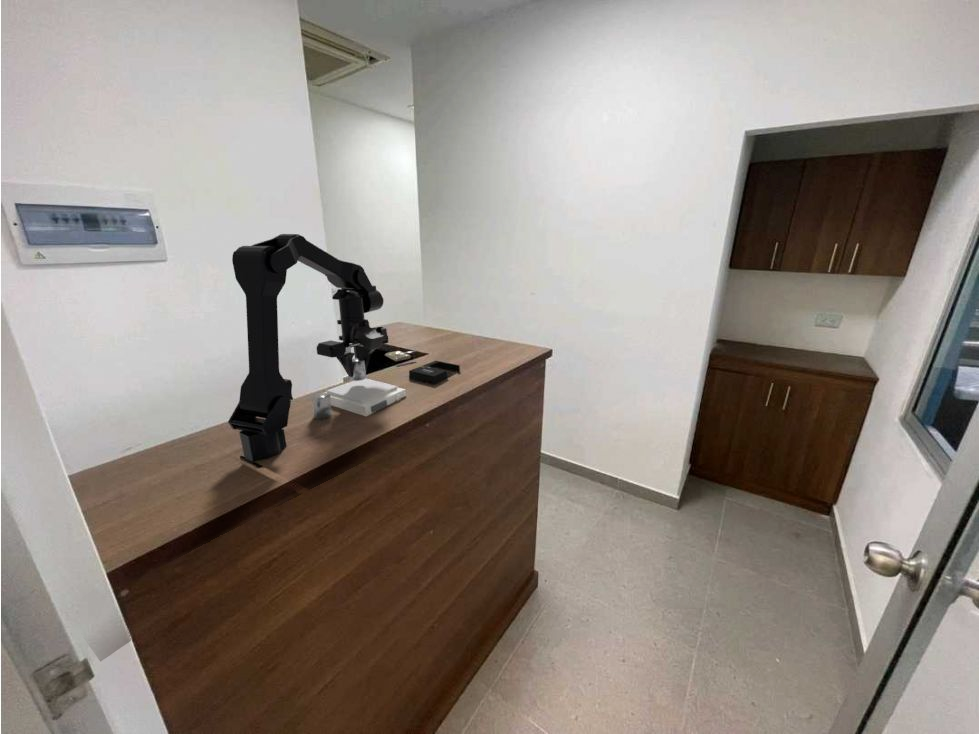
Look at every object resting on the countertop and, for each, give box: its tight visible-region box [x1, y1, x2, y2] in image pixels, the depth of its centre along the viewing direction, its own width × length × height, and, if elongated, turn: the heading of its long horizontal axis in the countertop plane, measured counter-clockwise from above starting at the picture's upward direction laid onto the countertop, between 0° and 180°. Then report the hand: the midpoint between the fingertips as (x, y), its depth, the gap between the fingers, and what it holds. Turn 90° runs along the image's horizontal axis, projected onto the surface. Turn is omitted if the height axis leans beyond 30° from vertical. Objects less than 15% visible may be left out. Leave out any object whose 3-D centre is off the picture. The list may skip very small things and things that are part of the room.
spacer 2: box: [349, 357, 367, 381], centre depth 100 cm, size 4×4×5 cm
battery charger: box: [408, 360, 461, 386], centre depth 117 cm, size 13×10×4 cm
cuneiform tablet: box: [384, 350, 417, 362], centre depth 133 cm, size 7×4×12 cm
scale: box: [323, 377, 407, 417], centre depth 100 cm, size 14×16×3 cm
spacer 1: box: [311, 392, 333, 420], centre depth 90 cm, size 4×4×5 cm
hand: (357, 374), depth 101 cm, fingers closed on spacer 2, 4 cm apart
